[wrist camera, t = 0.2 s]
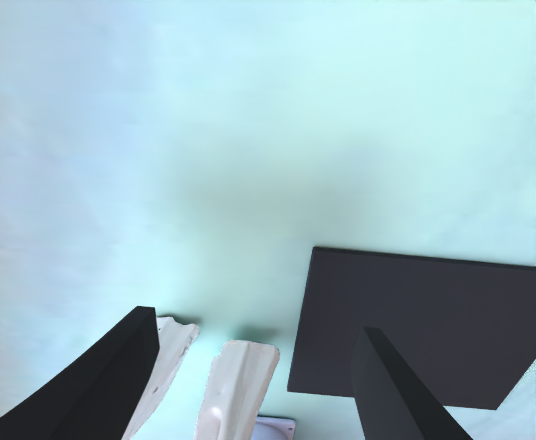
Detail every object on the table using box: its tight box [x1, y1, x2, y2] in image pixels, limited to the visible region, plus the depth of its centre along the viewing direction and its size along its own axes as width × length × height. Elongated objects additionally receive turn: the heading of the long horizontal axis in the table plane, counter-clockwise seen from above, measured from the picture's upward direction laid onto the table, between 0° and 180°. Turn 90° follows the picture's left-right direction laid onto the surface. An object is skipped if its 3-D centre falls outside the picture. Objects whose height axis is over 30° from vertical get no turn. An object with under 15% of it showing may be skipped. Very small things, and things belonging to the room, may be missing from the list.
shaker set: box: [121, 317, 280, 440], centre depth 19 cm, size 12×4×11 cm, turn 81°
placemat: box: [287, 247, 536, 410], centre depth 23 cm, size 16×20×1 cm
